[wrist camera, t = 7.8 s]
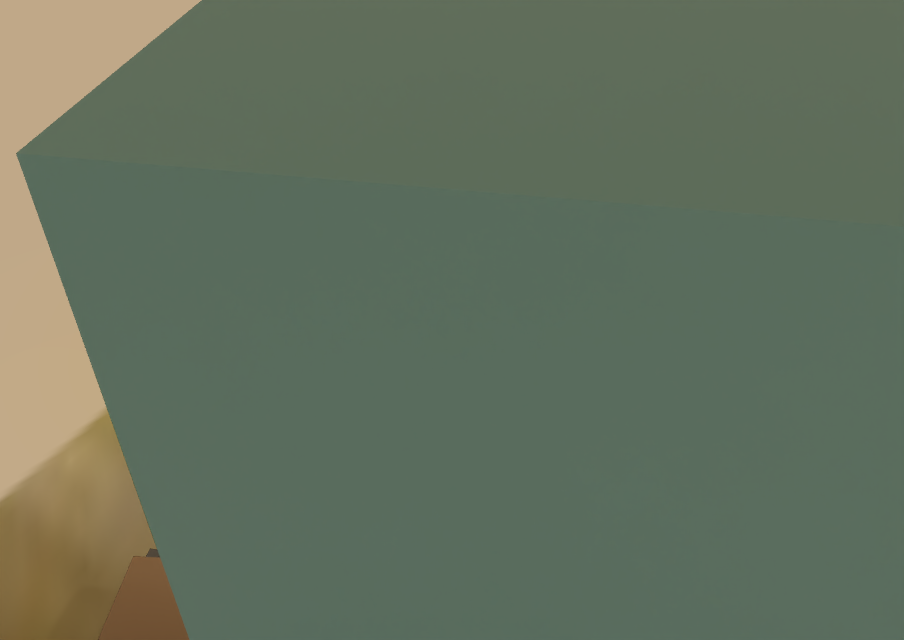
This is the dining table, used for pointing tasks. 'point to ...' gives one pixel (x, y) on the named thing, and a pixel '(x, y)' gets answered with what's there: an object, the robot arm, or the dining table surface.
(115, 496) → the dining table surface
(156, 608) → the upper walnut offcut
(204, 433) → the teal rectangular block
